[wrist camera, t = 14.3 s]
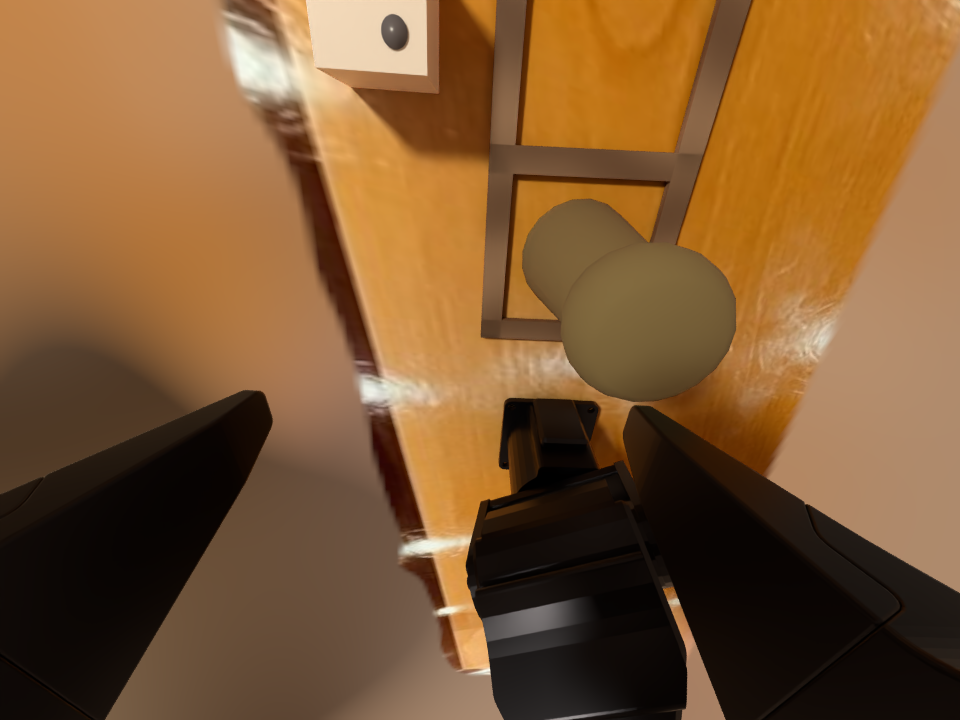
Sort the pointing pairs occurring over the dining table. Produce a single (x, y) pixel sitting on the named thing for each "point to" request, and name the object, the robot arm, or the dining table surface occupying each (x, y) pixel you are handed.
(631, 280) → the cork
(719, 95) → the three-pane window frame
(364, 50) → the die
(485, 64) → the dining table surface
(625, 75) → the dining table surface
